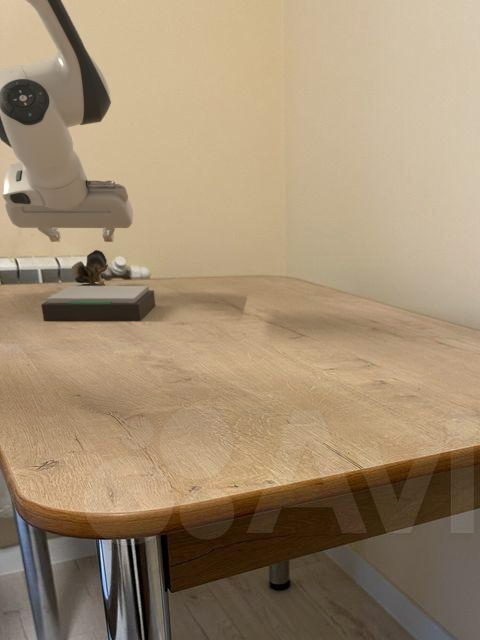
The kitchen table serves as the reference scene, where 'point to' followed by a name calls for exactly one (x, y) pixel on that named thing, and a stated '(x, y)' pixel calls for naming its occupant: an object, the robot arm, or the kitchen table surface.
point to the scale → (99, 303)
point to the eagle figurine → (90, 269)
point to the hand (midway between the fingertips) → (82, 239)
